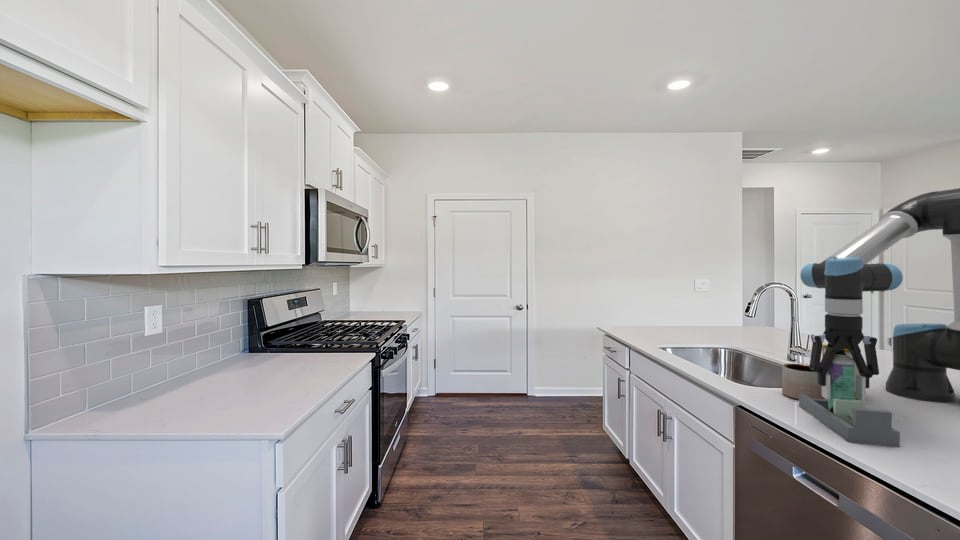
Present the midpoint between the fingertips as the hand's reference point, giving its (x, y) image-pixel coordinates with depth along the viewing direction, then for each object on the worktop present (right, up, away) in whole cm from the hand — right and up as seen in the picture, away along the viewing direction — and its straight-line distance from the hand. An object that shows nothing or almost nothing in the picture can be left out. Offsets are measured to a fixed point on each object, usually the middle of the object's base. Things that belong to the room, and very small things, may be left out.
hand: (843, 398), depth 107 cm
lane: (0, -7, 0) cm, 7 cm away
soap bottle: (+19, -6, +20) cm, 28 cm away
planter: (+7, -7, +21) cm, 23 cm away
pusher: (-1, -7, -5) cm, 9 cm away
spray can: (0, -7, +1) cm, 7 cm away
